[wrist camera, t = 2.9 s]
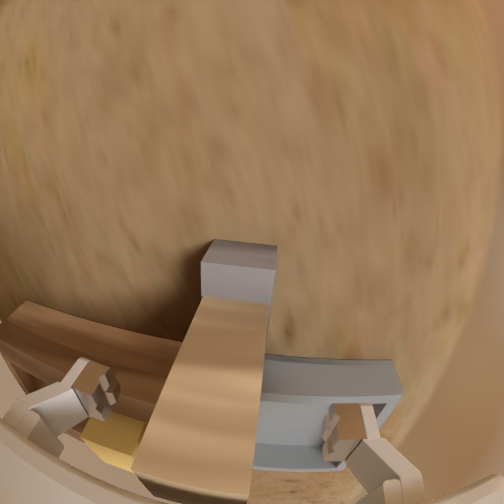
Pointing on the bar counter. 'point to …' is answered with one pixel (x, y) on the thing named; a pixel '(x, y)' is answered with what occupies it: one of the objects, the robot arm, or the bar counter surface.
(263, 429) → the tray
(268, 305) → the wooden post on base
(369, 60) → the bar counter surface
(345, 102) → the bar counter surface
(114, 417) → the pale yellow block
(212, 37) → the bar counter surface
